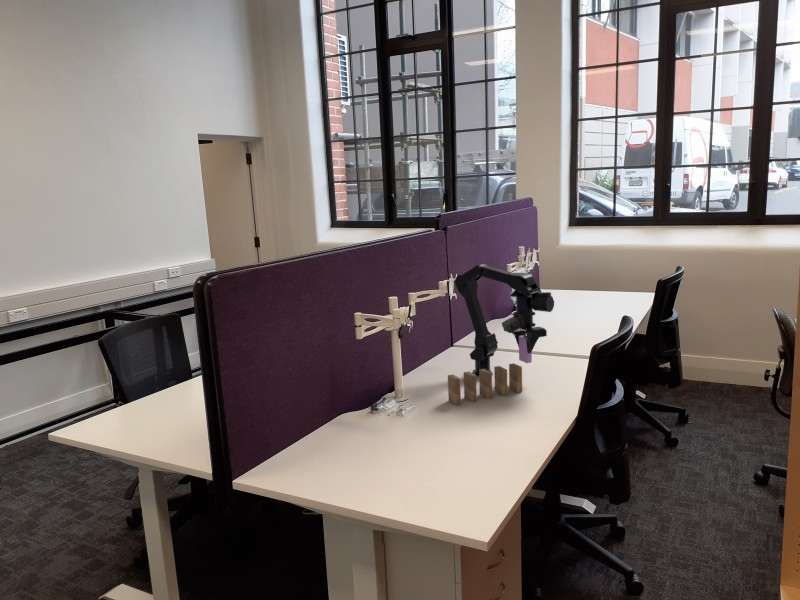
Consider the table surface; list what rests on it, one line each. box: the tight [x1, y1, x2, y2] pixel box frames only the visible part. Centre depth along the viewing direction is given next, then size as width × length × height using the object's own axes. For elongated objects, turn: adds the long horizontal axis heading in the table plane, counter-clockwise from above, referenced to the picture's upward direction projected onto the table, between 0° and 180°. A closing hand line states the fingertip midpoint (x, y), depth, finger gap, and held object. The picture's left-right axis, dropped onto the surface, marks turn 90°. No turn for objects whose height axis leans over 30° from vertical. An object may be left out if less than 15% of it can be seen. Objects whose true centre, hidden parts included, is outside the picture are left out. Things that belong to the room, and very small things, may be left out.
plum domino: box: [518, 335, 533, 364], centre depth 220 cm, size 2×5×9 cm, turn 23°
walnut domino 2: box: [463, 371, 478, 403], centre depth 206 cm, size 2×5×9 cm, turn 23°
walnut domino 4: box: [493, 365, 508, 397], centre depth 210 cm, size 2×5×9 cm, turn 23°
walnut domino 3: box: [478, 369, 493, 400], centre depth 208 cm, size 2×5×9 cm, turn 23°
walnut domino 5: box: [508, 362, 523, 394], centre depth 213 cm, size 2×5×9 cm, turn 23°
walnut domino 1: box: [447, 374, 462, 406], centre depth 204 cm, size 2×5×9 cm, turn 23°
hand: (525, 351), depth 220 cm, fingers closed on plum domino, 5 cm apart
